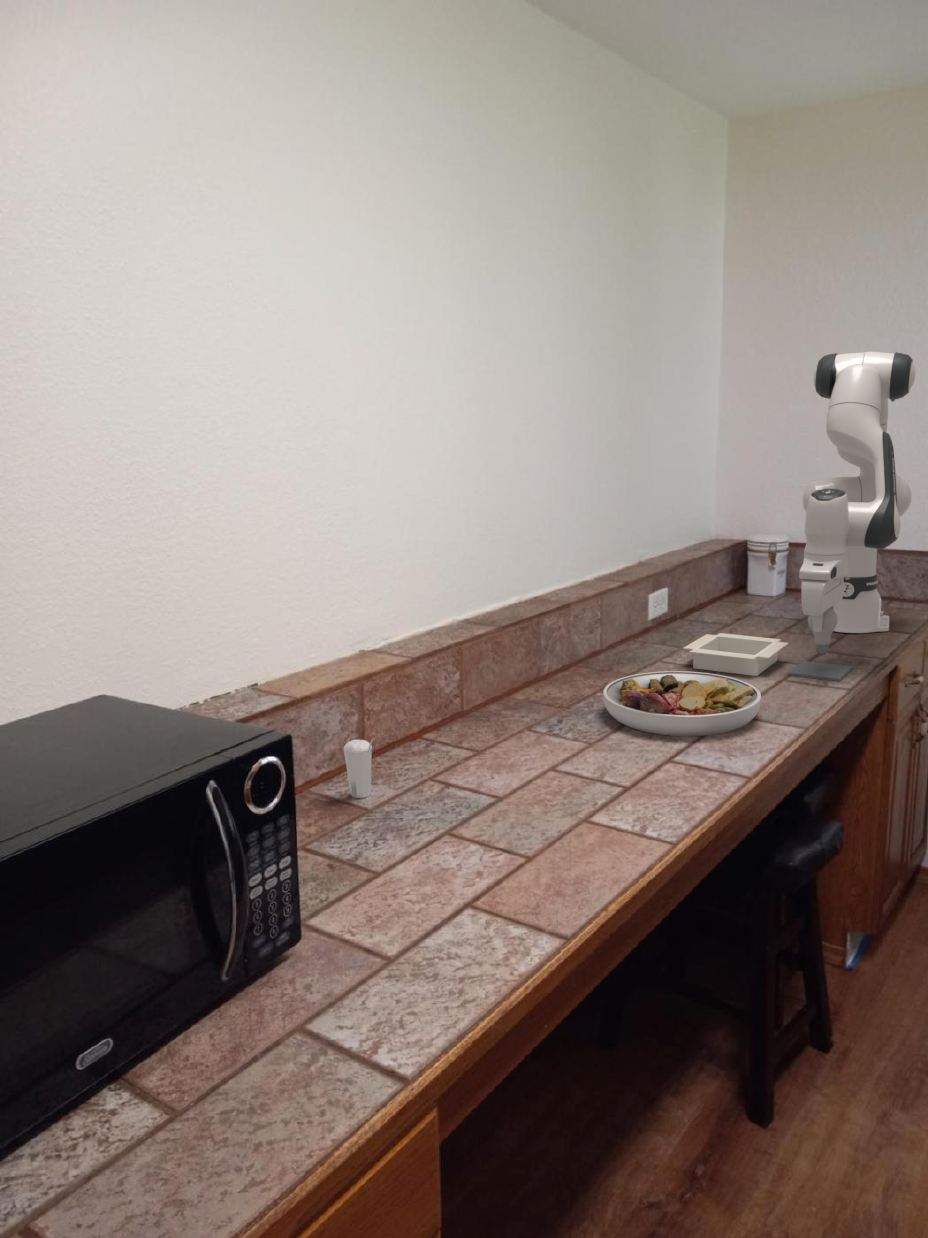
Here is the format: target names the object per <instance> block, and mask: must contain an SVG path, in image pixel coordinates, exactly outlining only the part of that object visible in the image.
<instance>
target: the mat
mask: <svg viewBox="0 0 928 1238" xmlns="http://www.w3.org/2000/svg"><path fill="white" fill-rule="evenodd" d="M853 669H854V667H853V666H851V665H845V664H836V663H835V664H834V663H825V662H818V661H817V662H816V661H810V660H809V661H808V660H807V661H806V660H802V661H800V662H799V663H798V664H796V666H794V667H793V668H791V669H790V670H789V671H788V672H787V675H788V676H793V677H801V678H808V679H816V680H817V679H818V680H826V681H834V682H842V680H843V679H844V678H845V677H846V676H847V675H848V674H849V673H850V672H851V671H853Z"/></svg>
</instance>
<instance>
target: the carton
mask: <svg viewBox="0 0 928 1238" xmlns="http://www.w3.org/2000/svg"><path fill="white" fill-rule="evenodd" d="M789 644H790V643H789V642H786V641H785V642H783V641H782V639H780V638H771V637H761V636H751V635H743V634H735V633H734V634H733V633H724V632H723V633H722V632H720V633H718V634H708V633H706V634H704V635H702V636H701V637H699V638H697V639H696V640H694V641H692V642H690V643H689V644H687V645H686V646H684V647H683V648H682V649H683V650H688V651H689V650H690V651H689V654H693V655H692V656H693V658H692V659H693V663H692V666H693V669H699V670H705V671H713V672H719V673H720V672H722V673H729V674H735V675H736V674H737V675H743V676H744V675H745V676H752V677H758V676H759V675H760V674H761V673H763V672H764V671H765V670H767V669H768V668H769V667H771V666H772V665H773V664H775V663H776V662H777V661H778V653H779V652H780V651H782V650H783V649H784V648H786V647H787V646H788V645H789Z"/></svg>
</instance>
